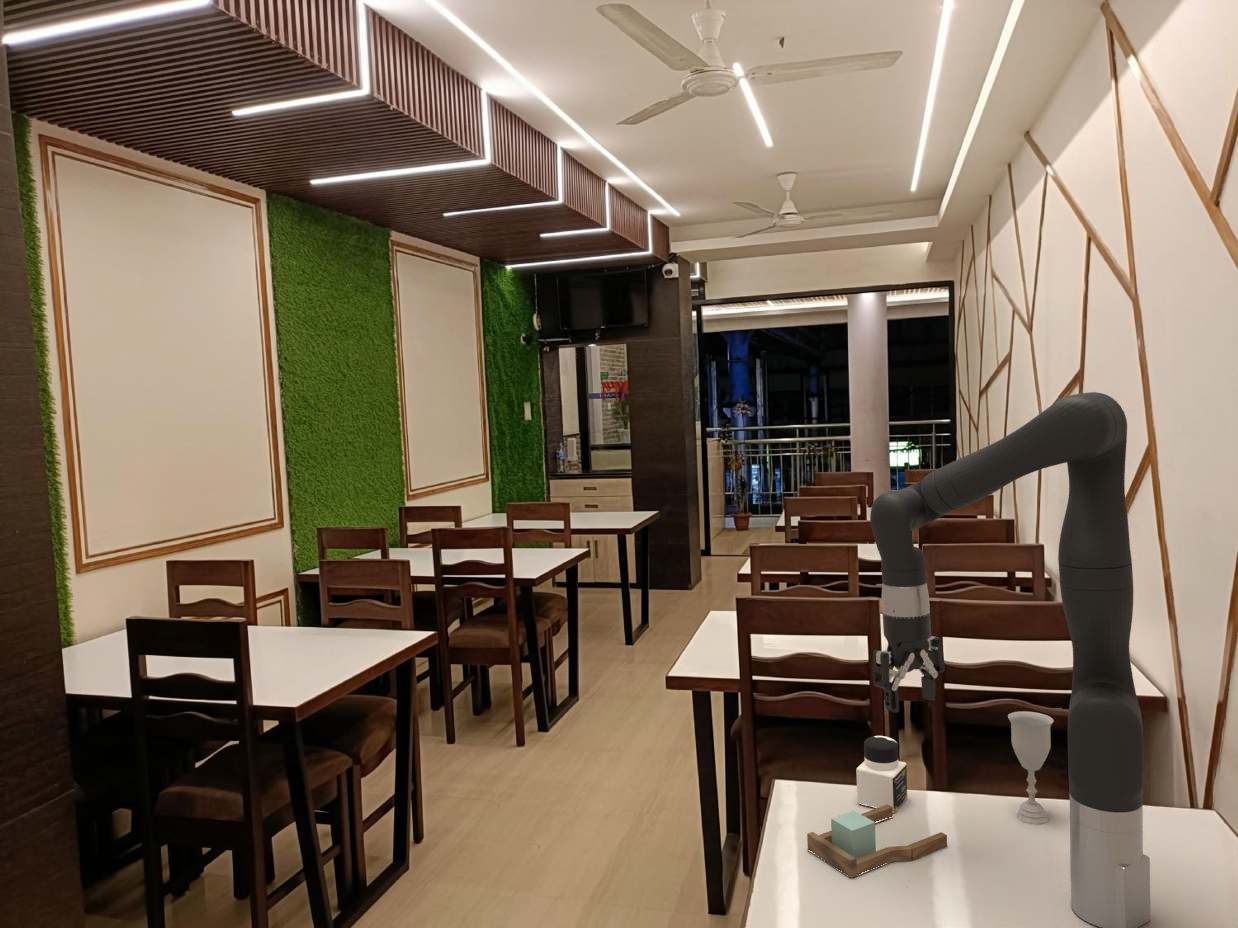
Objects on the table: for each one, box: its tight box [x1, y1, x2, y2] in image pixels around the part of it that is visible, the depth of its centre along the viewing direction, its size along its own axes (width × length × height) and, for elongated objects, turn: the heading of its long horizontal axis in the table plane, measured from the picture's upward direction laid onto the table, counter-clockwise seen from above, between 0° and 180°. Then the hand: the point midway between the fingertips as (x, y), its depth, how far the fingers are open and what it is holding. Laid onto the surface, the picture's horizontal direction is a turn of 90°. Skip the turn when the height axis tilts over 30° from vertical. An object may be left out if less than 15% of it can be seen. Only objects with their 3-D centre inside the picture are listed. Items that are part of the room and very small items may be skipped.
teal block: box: [830, 810, 877, 859], centre depth 147 cm, size 5×5×6 cm
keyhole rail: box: [806, 804, 948, 879], centre depth 149 cm, size 13×20×3 cm
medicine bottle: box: [855, 735, 908, 814], centre depth 165 cm, size 7×7×12 cm
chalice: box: [1007, 711, 1054, 825], centre depth 156 cm, size 7×7×18 cm
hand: (911, 704), depth 147 cm, fingers open, 8 cm apart
